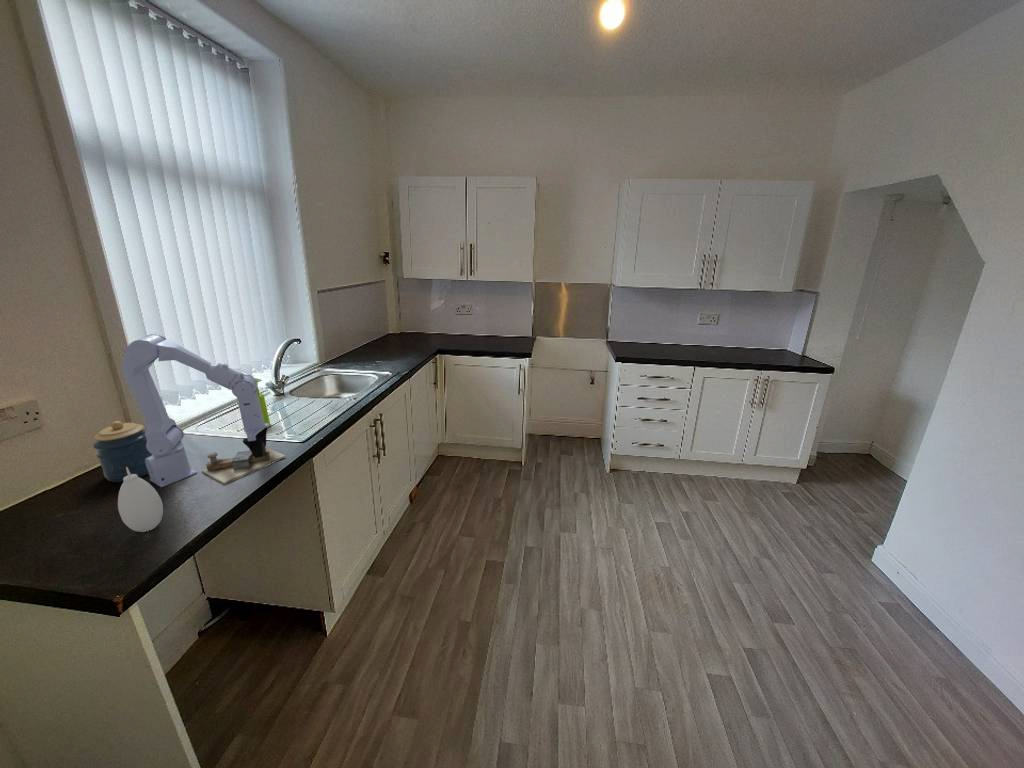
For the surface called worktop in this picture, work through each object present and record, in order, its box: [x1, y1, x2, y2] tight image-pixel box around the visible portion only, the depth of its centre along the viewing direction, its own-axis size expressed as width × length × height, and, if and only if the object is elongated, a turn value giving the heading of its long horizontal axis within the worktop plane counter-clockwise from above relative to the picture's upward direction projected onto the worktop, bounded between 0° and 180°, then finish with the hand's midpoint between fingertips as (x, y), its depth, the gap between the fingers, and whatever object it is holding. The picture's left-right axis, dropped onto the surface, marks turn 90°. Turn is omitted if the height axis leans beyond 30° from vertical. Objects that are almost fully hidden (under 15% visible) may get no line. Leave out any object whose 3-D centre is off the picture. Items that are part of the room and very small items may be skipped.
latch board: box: [201, 447, 287, 485], centre depth 132 cm, size 19×14×1 cm
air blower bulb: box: [117, 467, 164, 533], centre depth 99 cm, size 8×8×18 cm
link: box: [205, 442, 270, 470], centre depth 130 cm, size 17×4×5 cm, turn 113°
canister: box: [92, 420, 153, 483], centre depth 126 cm, size 13×13×18 cm
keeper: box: [231, 449, 253, 470], centre depth 130 cm, size 6×4×4 cm
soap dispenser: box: [254, 377, 271, 427], centre depth 157 cm, size 6×7×20 cm
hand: (260, 451), depth 133 cm, fingers open, 7 cm apart
